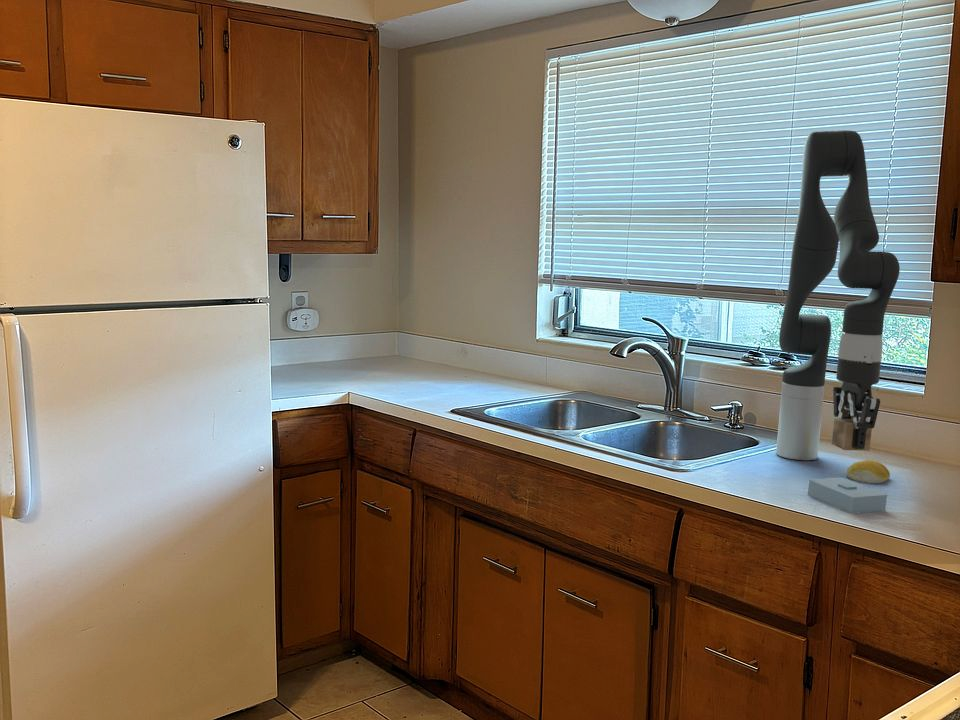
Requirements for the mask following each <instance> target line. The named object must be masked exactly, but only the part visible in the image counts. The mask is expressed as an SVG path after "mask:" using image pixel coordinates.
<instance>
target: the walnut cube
mask: <svg viewBox="0 0 960 720" xmlns="http://www.w3.org/2000/svg"><path fill="white" fill-rule="evenodd" d="M859 421H860V418H859ZM853 430H854V422H853V419H838V418H834V419H833V428H832V439H831V445H833V446H836V447H837V448H839V449H842V450H843V451H865V452H866V451H871V450H870V448H871V439H872V430H873V428H869V429H868V430H866V439H865V447H864V449H854V448H853V447H852V440H853Z"/></svg>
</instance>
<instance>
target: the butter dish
mask: <svg viewBox="0 0 960 720" xmlns="http://www.w3.org/2000/svg"><path fill="white" fill-rule="evenodd" d="M807 489H808V491H807V495H808V496H809V497H811V498H813V497H814V499H816V498H817V499H816V500H818V499H819V500H818V501H820V500H821V502H823V501H824V502H823V503H825V502H826V503H825V504H827V503H828V505H830V504H831V505H830V506H832V505H833V506H832V507H834V506H836V507H835V508H837V507H838V508H837V509H839V508H840V509H839V510H842V511H844V512H846V511H847V512H846V513H849V514H852V513H854V514H863V513H862V512H865V513H873V512H872V511H876V512H885V511H886V507H887V499H888V494H886V493H884V492H881V491H879V490H876V489H873V488H870V487H867V486H865V485H862V484H860V483H857V482H855V481H853V480H850V479H848V478H847V479H846V478H845V477H843V476H842V477H830V478H828V477H827V478H814V479H813V478H812V479H808V488H807ZM883 510H884V511H883Z"/></svg>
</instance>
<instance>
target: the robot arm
mask: <svg viewBox="0 0 960 720" xmlns="http://www.w3.org/2000/svg"><path fill="white" fill-rule="evenodd" d="M802 151H803V153H802V162H801V163H802V164H801V177H800V179H801V181H800V191H799V193H800V194H799V196H800V197H799V204H798V205H799V206H798V212H797V217H796V218H797V219H796V224H795V225H796V226H795V231H794V238H793V243H792V248H791V249H792V250H791V259H790V270H789V277H788V278H789V280H788V286H787V287H788V288H787V292H786V299H785V304H784V308H783V313H782V318H781V322H780V328H779V335H778V336H779V340H778V341H779V343H778V344H779V348H780V351H782V352H783V353H787V354H796V355H811V357H810V358H809V360H807V361H805V362H804V363H801V364H799V365H796V366H792V367H788V368H786V369H785V370H784V371H783V372H782V378H781V379H782V380H781V381H782V382H781V393H780V394H781V395H780V403H779V404H780V405H779V415H778V425H777V437H776V438H777V439H776V449H775V453H776V455H777V456H779V457H782V458H786V459H790V460H798V461H812V460H813V461H814V460H817V459H818V456H819V449H820V448H819V447H820V446H819V445H820V437H821V428H822V427H821V426H822V425H821V424H822V416H823V406H824V394H825V393H824V392H825V382H826V375H827V374H826V372H827V364H828V356H829V350H830V349H829V348H830V343H831V337H832V336H831V335H832V322H831V319H830V318H829V316H828V315H824V314H810V313H807V314H806V313H801V311H802V308H803V306H804V304H805V302H806V300H807V299H808V297H810V295H811V294H812V292H813V291H815V289H816V288H817V287H818V286H819V285H820V284H821V283H822V282H823V281H824V280H825V279H826V278H827V277H828V276H829V274H830V273H831V272H832V270H833V269H834V267H835V265H836V261H837V256H838V249H839V259H838V266H837V277H838V280H839V282H840V284H842V285H843V286H844V287H846V288H849V289H856V290H857V289H859V290H860V289H861V290H862V289H863V290H871V291H870V293H869V294H868V296H867V297H866V298H864V299H861V300H855V301H851V302H849V303H846V305H845V306H844V310H843V319H842V329H841V330H842V332H841V336H840V341H839V344H838V355H837V356H838V357H837V366H836V367H837V368H836V375H835V378H836V380H837V381H839V382H842V384H841V386H833V388H832V389H833V390H832V391H833V397H832V399H833V400H832V401H833V416H834V417H835V418H837V419H853V422H854V430H853V440H852V447H853V448H854V449H864V447H865V439H866V430H868V429H869V428H872V429H875V426H876V422H877V417H878V414H879V409H880V406H881V399H880V398H875V397H874V396H873V393H872V387H873V385H878V383H879V382H880V376H881V364H882V354H883V330H884V322H885V314H886V310H887V307H888V305H889V301H890V300H891V296H892V293H893V292H894V289H895V287H896V285H897V283H898V279H899V276H900V272H901V271H900V269H901V268H900V262H899V260H898V258H897V256H896V255H895V254H894V253H892V252H890V251H889V252H888V251H872V250H873V249H874V248H876V247H877V246H878V244H879V241H880V235H879V234H880V232H879V229H878V227H877V223H876V220H875V216H874V214H873V209H872V206H871V201H870V200H871V199H870V194H869V193H870V192H869V183H868V172H867V163H866V155H865V154H866V153H865V152H866V151H865V147H864V142H863V140H862V137H861V135H860V133H858V132H857V131H855V130H846V129H845V130H818V131H812V132H810V133H809V134H808V135H807V137H806V139H805V142H804V146H803V150H802ZM844 176H846V178H847V181H848V183H847V186H846V187H845V189H844V192H843V193H842V195H841V196H840V198H839V200H838V202H837V203H836V206H835V208H834V209H835V210H834V214H833V217H832V216H831V215H830V212H829V211H828V209H827V207H826V205H825V203H824V200H823V197H822V195H821V178H822V177H844ZM833 218H834V220H833ZM859 419H860V421H859Z"/></svg>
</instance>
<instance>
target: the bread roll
mask: <svg viewBox="0 0 960 720" xmlns="http://www.w3.org/2000/svg"><path fill="white" fill-rule="evenodd" d="M845 473H846V476H847V477H848V478H849V479H850V478H851V480H852V479H853V480H852V481H856V482H860V481H861V483H865V482H867V484H873V483H877V484H883V482H884V483H885V482H886V481H888V480H889V479H890V476H891V473H890V471H889V469H888V468H887V467H886V466H885V465H884V464H883V463H881V462H879V461H876V460H872V459H871V460H870V459H869V460H868V459H867V460H860V461H857V462H853V463H852V464H851V465H849V467H848V468H847V469H846V471H845Z"/></svg>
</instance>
